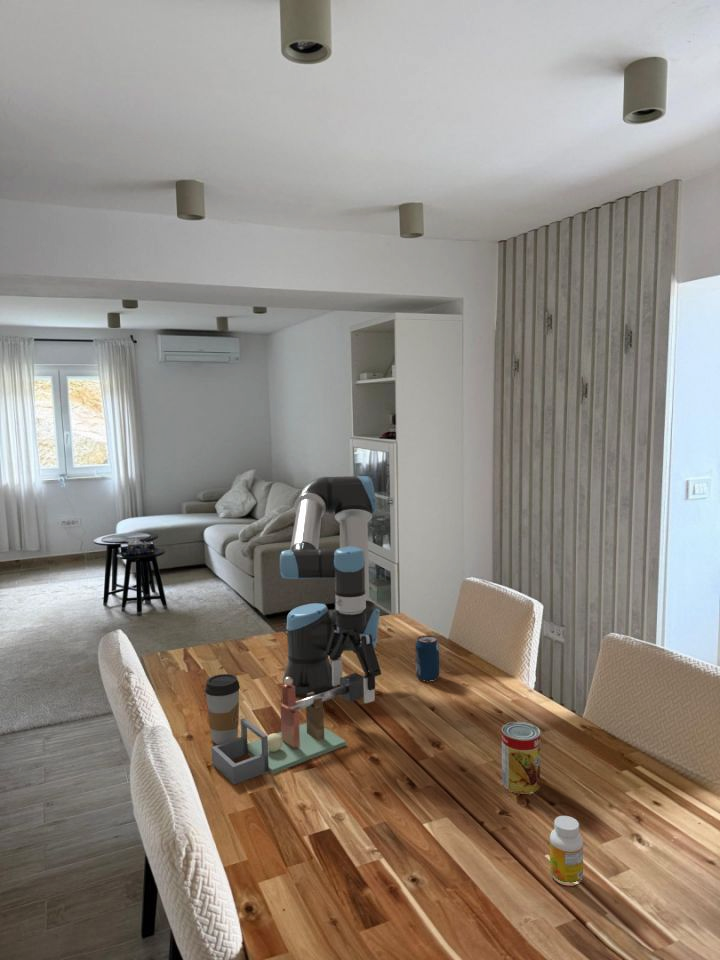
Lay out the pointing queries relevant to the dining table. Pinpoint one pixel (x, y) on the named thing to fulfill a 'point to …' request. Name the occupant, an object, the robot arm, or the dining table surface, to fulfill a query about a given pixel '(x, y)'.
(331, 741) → the mat
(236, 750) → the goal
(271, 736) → the ball
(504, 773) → the canned food
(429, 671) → the soda can
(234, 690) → the coffee cup
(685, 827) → the dining table surface
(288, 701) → the stand
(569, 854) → the supplement bottle
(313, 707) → the foosball player figure
